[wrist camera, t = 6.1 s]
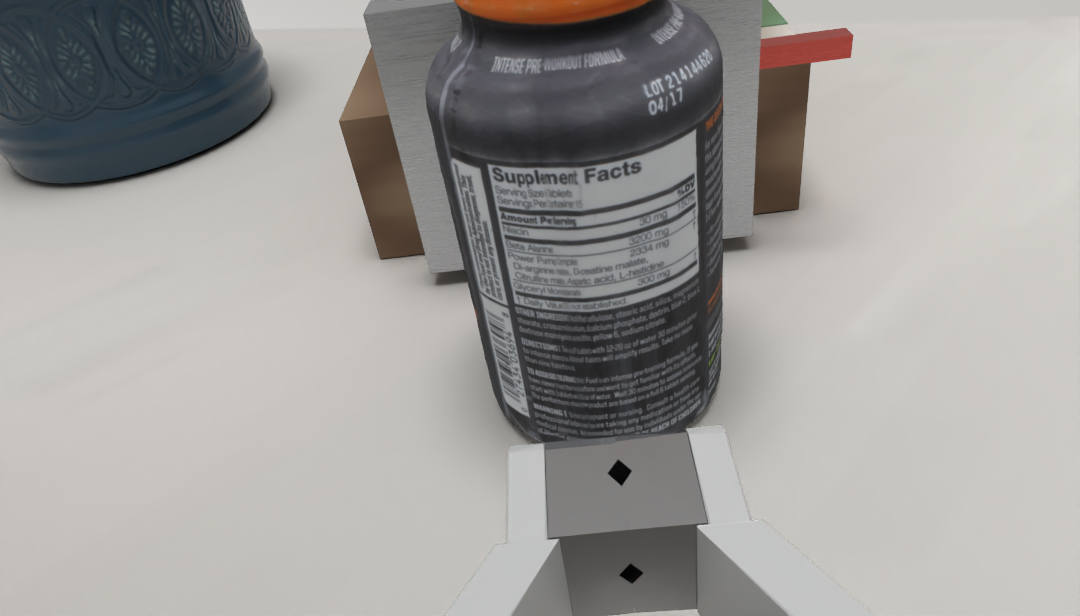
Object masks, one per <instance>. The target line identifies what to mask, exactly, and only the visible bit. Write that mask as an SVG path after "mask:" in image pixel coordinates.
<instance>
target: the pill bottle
mask: <svg viewBox="0 0 1080 616" xmlns="http://www.w3.org/2000/svg"><path fill="white" fill-rule="evenodd" d="M454 2H455V3H456V5H457V7H458V9H459V12H460V16H461V19H462V20H461V23H460V26H459V29H458V32H457V33H456V34H455V35H453V36H452V37H451V38H450V39H449V40H448V41H447V42H446V43H445V44H444V45H443V46H442V48H441V49H440V51H439V52H438V53H437V55H436V56H435V58H434V60H433V62H432V64H431V67H430V69H429V72H428V76H427V81H426V89H425V96H426V107H427V112H428V116H429V119H430V123H431V127H432V132H433V136H434V141H435V147H436V151H437V155H438V160H439V164H440V169H441V173H442V176H443V180H444V184H445V189H446V193H447V197H448V202H449V205H450V209H451V215H452V219H453V222H454V226H455V231H456V237H457V240H458V244H459V249H460V252H461V256H462V261H463V266H464V269H465V272H466V275H467V280H468V286H469V289H470V294H471V298H472V302H473V305H474V309H475V313H476V318H477V322H478V328H479V332H480V336H481V341H482V345H483V349H484V354H485V359H486V362H487V366H488V370H489V375H490V379H491V383H492V387H493V391H494V394H495V397H496V399H497V401H498V404H499V406H500V407H501V409H502V411H503V413H504V414H505V416H506V417H507V418H508V419H509V420H510V421H511V422H512V423H513V424H514V425H515V426H516V427H517V428H518V429H520V430H521V431H523V432H524V433H526V434H527V435H529V436H530V437H532V438H534V439H535V440H538V441H540V442H542V443H545V442H557V441H570V440H583V439H596V438H609V437H615V436H621V435H630V434H639V433H648V432H657V431H665V430H674V429H683V428H684V427H686V426H687V425H688V424H690V423H691V422H692V421H693V420H694V419H695V418H696V417H697V416H698V415H699V414H700V413H701V412H702V411H703V410H704V408H705V407H706V406H707V405H708V403H709V401H710V399H711V397H712V395H713V393H714V391H715V389H716V386H717V384H718V381H719V376H720V370H721V334H722V305H723V303H722V268H723V237H722V235H723V205H722V204H723V181H722V178H723V112H724V111H723V58H722V53H721V49H720V46H719V43H718V40H717V38H716V36H715V34H714V32H713V31H712V29H711V28H710V26H709V25H708V24H707V23H706V22H705V20H704V19H703V18H702V17H701V16H700V15H699V14H697V13H696V12H694V11H693V10H691V9H690V8H688V7H686V6H684V5H682V4H680V3H678V2H676V1H673V0H454Z"/></svg>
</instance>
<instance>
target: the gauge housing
mask: <svg viewBox="0 0 1080 616" xmlns="http://www.w3.org/2000/svg"><path fill="white" fill-rule="evenodd" d="M788 35H796V34H795V33H794V32H793V31H792V30H791V28H790V27H789V26H788V23H787V22H786V21H785V19H784V18H783V17H782V16H781V15H780V14H779V12H778V11H777V10H776V9H775V8H774V7H773V5H772V4H771V3H770V2H769V1H768V0H762V20H761V39H766V38H773V37H781V36H788ZM810 65H811V63H805V64H797V65H790V66H782V67H774V68H767V69H759V89H758V112H757V135H756V158H755V181H754V203H753V214H759V213H767V212H775V211H784V210H792V209H798V208H799V196H800V184H801V172H802V160H803V148H804V137H805V125H806V113H807V101H808V89H809V77H810ZM339 123H340V126H341V130H342V133H343V136H344V140H345V143H346V146H347V150H348V153H349V156H350V159H351V163H352V166H353V169H354V173H355V176H356V179H357V183H358V186H359V189H360V193H361V196H362V199H363V203H364V206H365V209H366V213H367V216H368V219H369V223H370V226H371V229H372V233H373V236H374V239H375V243H376V246H377V249H378V253H379V256H380V259H384V258H392V257H400V256H409V255H417V254H425V252H424V248H423V244H422V240H421V236H420V232H419V229H418V225H417V221H416V217H415V213H414V209H413V205H412V201H411V198H410V194H409V190H408V186H407V182H406V178H405V174H404V170H403V167H402V163H401V159H400V155H399V151H398V147H397V143H396V139H395V136H394V132H393V128H392V124H391V120H390V116H389V112H388V108H387V105H386V101H385V97H384V93H383V89H382V85H381V81H380V77H379V74H378V70H377V66H376V62H375V58H374V54H373V50H372V47H371V49H370V51H369V54H368V56H367V58H366V61H365V63H364V65H363V68H362V70H361V72H360V74H359V77H358V79H357V81H356V84H355V86H354V88H353V90H352V93H351V95H350V97H349V100H348V102H347V104H346V106H345V109H344V111H343V113H342V116H341V118H340V120H339Z"/></svg>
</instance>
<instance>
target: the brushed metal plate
mask: <svg viewBox="0 0 1080 616" xmlns="http://www.w3.org/2000/svg"><path fill="white" fill-rule="evenodd" d="M673 1H676V2H678V3H680V4H682V5H684V6H686V7H688V8H690V9H691V10H693V11H694V12H696V13H697V14H699V15H700V16H701V17H702V18H703V19H704V20H705V22H706V23H707V24H708V25H709V26H710V28H711V29H712V31H713V32H714V34H715V36H716V38H717V40H718V43H719V46H720V49H721V53H722V58H723V111H724V112H723V178H722V181H723V204H722V205H723V235H722V237H723V239H727V238H735V237H744V236H752V226H753V203H754V181H755V158H756V135H757V112H758V89H759V69H767V68H774V67H782V66H790V65H797V64H805V63H813V62H820V61H828V60H836V59H843V58H851V50H852V41H853V35H852V34H851V33H850V32H849V31H848V30H847V29H846V28H841V29H833V30H826V31H818V32H811V33H803V34H796V35H788V36H781V37H773V38H766V39H761V20H762V0H673ZM363 15H364V19H365V23H366V27H367V31H368V35H369V39H370V43H371V46H372V50H373V54H374V58H375V62H376V66H377V70H378V74H379V77H380V81H381V85H382V89H383V93H384V97H385V101H386V105H387V108H388V112H389V116H390V120H391V124H392V128H393V132H394V136H395V139H396V143H397V147H398V151H399V155H400V159H401V163H402V167H403V170H404V174H405V178H406V182H407V186H408V190H409V194H410V198H411V201H412V205H413V209H414V213H415V217H416V221H417V225H418V229H419V232H420V236H421V240H422V244H423V248H424V252H425V256H426V259H427V263H428V267H429V271H430V274H431V273H440V272H448V271H457V270H465V269H464V266H463V261H462V256H461V252H460V249H459V244H458V240H457V237H456V231H455V226H454V222H453V219H452V215H451V209H450V205H449V202H448V197H447V193H446V189H445V184H444V180H443V176H442V173H441V169H440V164H439V160H438V155H437V151H436V147H435V141H434V136H433V132H432V127H431V123H430V119H429V116H428V112H427V107H426V96H425V89H426V81H427V76H428V72H429V69H430V67H431V64H432V62H433V60H434V58H435V56H436V55H437V53H438V52H439V51H440V49H441V48H442V46H443V45H444V44H445V43H446V42H447V41H448V40H449V39H450V38H451V37H452V36H453V35H455V34H456V33H457V32H458V29H459V26H460V23H461V20H462V19H461V16H460V12H459V9H458V7H457V5H456V3H455V2H454V0H371V1H370V2H369V4H368V6H367V8H366V10H365V12H364V14H363Z"/></svg>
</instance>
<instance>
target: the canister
mask: <svg viewBox="0 0 1080 616" xmlns="http://www.w3.org/2000/svg"><path fill="white" fill-rule="evenodd" d="M270 99H271V89H270V86H269V81H268V65H267V62H266V60H265V59H264V57H263V50H262V47H261V45H260V44H259V42H258V41H257V40H256V39H255V37H254V35H253V32H252V30H251V27H250V24H249V21H248V18H247V15H246V12H245V10H244V7H243V4H242V1H241V0H0V154H1V155H2V156H4V157H5V158H6V159H7V160H8V161H9V163H10V164H11V165H12V167H13V168H14V170H15V171H16V172H17V173H18V174H20V175H21V176H23V177H25V178H28V179H31V180H35V181H40V182H47V183H84V182H93V181H101V180H107V179H113V178H118V177H123V176H127V175H132V174H136V173H140V172H144V171H147V170H151V169H154V168H158V167H161V166H164V165H167V164H170V163H173V162H176V161H179V160H182V159H184V158H187V157H189V156H192V155H194V154H197V153H199V152H201V151H204V150H206V149H208V148H210V147H212V146H214V145H216V144H218V143H220V142H222V141H224V140H226V139H228V138H230V137H231V136H233V135H235V134H236V133H238V132H239V131H241V130H242V129H244V128H245V127H247V126H248V125H249V124H251V123H252V122H253V121H254V120H255V119H256V118H257V117H258V116H259V115H260V114H261V113H262V112H263V111H264V110H265V108H266V107H267V105H268V103H269V101H270Z"/></svg>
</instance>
